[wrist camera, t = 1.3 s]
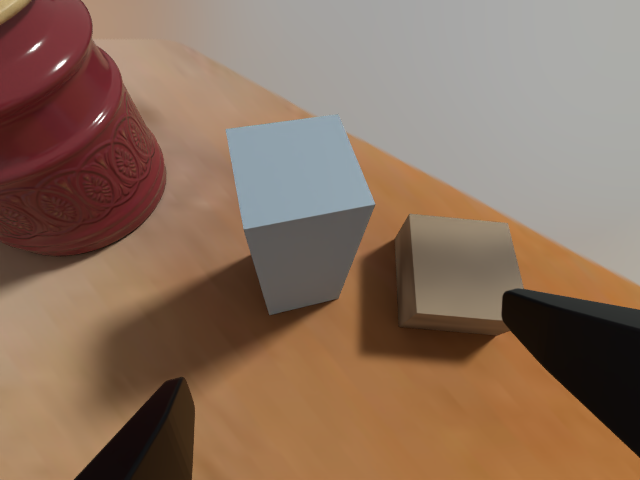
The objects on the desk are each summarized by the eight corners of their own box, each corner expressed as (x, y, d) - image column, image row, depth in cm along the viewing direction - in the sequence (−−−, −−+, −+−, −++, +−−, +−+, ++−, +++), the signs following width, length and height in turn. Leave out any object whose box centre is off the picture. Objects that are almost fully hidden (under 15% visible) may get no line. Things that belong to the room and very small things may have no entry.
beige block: (495, 336, 22) (532, 323, 19) (397, 327, 22) (416, 313, 19) (478, 248, 26) (507, 223, 22) (393, 240, 25) (409, 213, 22)
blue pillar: (338, 298, 23) (375, 204, 12) (269, 315, 22) (243, 229, 11) (320, 238, 25) (338, 114, 14) (256, 251, 24) (225, 129, 13)
